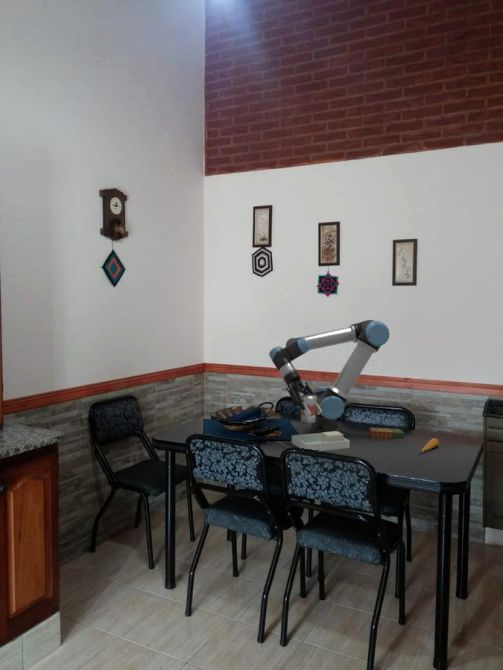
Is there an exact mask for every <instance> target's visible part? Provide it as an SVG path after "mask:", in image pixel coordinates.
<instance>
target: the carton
mask: <svg viewBox="0 0 503 670" xmlns="http://www.w3.org/2000/svg"><path fill="white" fill-rule="evenodd" d="M368 431H369V432H368V435H369V437H371V438H380V439H379V440H388V439H403V440H404V432H403V430H402V429H400V428H386V427H384V428H383V427H369V430H368ZM371 438H370V439H371Z"/></svg>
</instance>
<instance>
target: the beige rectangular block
mask: <svg viewBox="0 0 503 670" xmlns="http://www.w3.org/2000/svg"><path fill="white" fill-rule="evenodd" d="M343 438H344V434H343V433H341V432H340V431H339V430H338V431H333V432H322V443H323V442H334V441H343Z"/></svg>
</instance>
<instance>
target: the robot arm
mask: <svg viewBox="0 0 503 670" xmlns="http://www.w3.org/2000/svg"><path fill="white" fill-rule="evenodd" d="M389 338H390V329H389V328H388V326H387V324H385V323H384V322H382V321H379V320H373V319H367V320H363V321H361V322H357V323H353V324H352V323H351V324H350V325H349V326H348V327H344V328H343V327H342V328H338V329H334V330H329V331H323V332H318V333H314V334H308V335H304V336H301V337H292V338H289V339H287V341H286V343H285V347H282V346H279V345H278V346H276V347H273V348H272V349H270V351H269V354H268V356H269V358H270V360H271V361H272V363H273V365H274V366H275V368H276V369H277V371H278V373H279V374H280V376H281V377H282V379H283V381H284V383H285V384H286V387H285V390H286V391H287V392H288V394H289V396H290V397H291V400H292V402H293V404H294V405H296V406H297V407H299V408H300V410H301V409H302V410H303V412H304V413H305V415H306V416H307V417H308V416H309V415H310V414H311V412H310V411H309V409H308V407H307V406H306V404H305V403H304V402H303V403H302V395H316V396H317V411H316V422H315V423H309V426H308V431H309V432H310V433H311V434H316V433H322V432H333V431H338V432H339V426H338V423H337V419H338V418H340V417H341V416H342V415H343V414H344V412H345V405H346V403H347V402H348V400H349V398H348V395H349V393H350V390H351V389H352V388H353V386H354V384H355V383H356V381H357V380H358V377H360V374H362V371H363V370H364V368H365V367H366V365H367V364H368V362H369V360H370V358H371V357H372V355H373V354H375V353H378V351H379V350H380V348H381V347H382V346H383V345H385V344H386V343H388V341H389ZM351 342H352V343H355V344H356V343H357V344H356V347H355V348H354V349H353V351H352V353H351V354H350V355H349V358H348V359H347V361H346V363H345V364H344V365H343V367H342V369H341V371H340V372H339V374H338V375H337V377H336V379H335V380H334V382H333V384H332V385H329V386H327V387H315V388H313V389H312V388H311V387H310V385H309V383H308V382H307V381H306V382H303V381H302V380H301V375H300V374H299V372H298V371H297V369H296V367H295V365H294V364H293V363H292V362H293V361H295V360H296V359H298V358H299V357H301V356H303V355H305V354H306V353H308V352H309V351H312V350H316V349H321V348H326V347H330V346H336V345H340V344H345V343H346V344H347V343H351ZM301 394H302V395H301Z"/></svg>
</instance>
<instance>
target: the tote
mask: <svg viewBox="0 0 503 670" xmlns="http://www.w3.org/2000/svg"><path fill="white" fill-rule="evenodd" d="M350 442H351V441H350V440H349V439H348V438H345V437H343V441H334V442H323V443H322V433H316V434H315V433H308V434H307V433H306V434H296V435H291V444H292V445H294V446H296V447H297V448H299V449H301V448H304V449H312V450H319V451H318V452H323V451H324V452H327V451H335V450H336V451H337V450H345V449H350V444H351V443H350Z"/></svg>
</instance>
